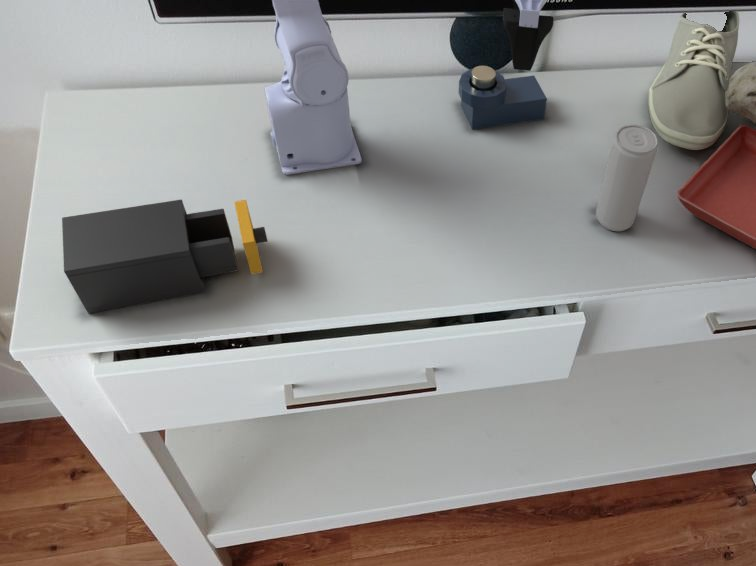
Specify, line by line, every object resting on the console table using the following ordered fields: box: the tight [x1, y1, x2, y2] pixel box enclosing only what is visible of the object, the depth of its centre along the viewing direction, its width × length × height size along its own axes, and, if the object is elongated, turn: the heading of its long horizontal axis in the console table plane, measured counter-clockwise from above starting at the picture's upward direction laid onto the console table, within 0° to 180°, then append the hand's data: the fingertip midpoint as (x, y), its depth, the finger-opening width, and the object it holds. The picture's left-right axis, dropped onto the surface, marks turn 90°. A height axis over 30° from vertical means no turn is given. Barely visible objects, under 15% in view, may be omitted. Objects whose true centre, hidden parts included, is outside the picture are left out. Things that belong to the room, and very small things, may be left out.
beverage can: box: [595, 124, 659, 232], centre depth 88 cm, size 5×5×12 cm
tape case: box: [61, 199, 206, 315], centre depth 79 cm, size 11×7×6 cm, turn 109°
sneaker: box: [647, 10, 740, 151], centre depth 105 cm, size 11×29×8 cm, turn 165°
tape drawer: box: [185, 199, 269, 278], centre depth 81 cm, size 12×6×5 cm, turn 109°
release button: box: [471, 65, 496, 91], centre depth 97 cm, size 3×3×2 cm
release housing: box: [458, 68, 548, 130], centre depth 100 cm, size 11×6×5 cm, turn 109°
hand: (523, 49), depth 94 cm, fingers open, 7 cm apart
